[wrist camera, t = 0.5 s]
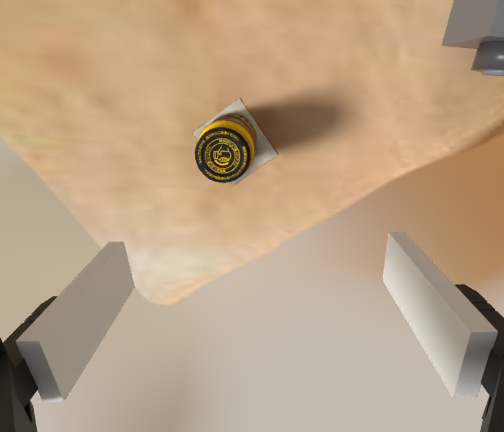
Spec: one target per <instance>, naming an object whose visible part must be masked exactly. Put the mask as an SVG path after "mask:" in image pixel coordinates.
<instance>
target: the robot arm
mask: <svg viewBox="0 0 504 432" xmlns="http://www.w3.org/2000/svg"><path fill="white" fill-rule="evenodd" d="M383 281H384V283H385V285H386V286H387V288H388V290H389V291H390V293H391V295H392V296H393V298H394V300H395V302H396V303H397V305H398V307H399V308H400V310H401V311H402V313H403V315H404V317H405V318H406V320H407V321H408V323H409V325H410V327H411V328H412V330H413V332H414V333H415V335H416V337H417V338H418V340H419V342H420V343H421V345H422V347H423V348H424V350H425V351H426V353H427V355H428V357H429V358H430V360H431V362H432V363H433V365H434V367H435V368H436V370H437V372H438V373H439V375H440V377H441V378H442V380H443V382H444V384H445V385H446V387H447V388H448V390H449V392H450V394H451V395H452V397H453V398H454V397H455V398H459V397H477V396H478V393H479V390H480V387H481V384H482V385H483V387H484V388H485V389H486V391H487V392H488V393H489V395H490V396H489V399H488V402H487V405H486V407H485V410H484V414H483V417H482V419H483V422H482V426H481V431H480V432H504V318H503V317H502V316H501V315H500V314H499V313H498V312H497V311H495V309H494V308H493V307H492V306H491V305H490V304H489V303H487V301H486V300H485V299H484V298H483V297H482V296H481V295H480V294H479V293H478V292H477V291H475V290H473V289H471V288H469V287H468V286H466V285H464V284H463V285H462V284H461V285H454V284H453V283H452V282H451V281H450V280H449V279H448V277H447V276H446V275H445V274H444V273H443V272H442V271H441V270H440V269H439V268H438V267H437V266H436V265H435V264H434V262H433V261H432V260H431V259H430V258H429V257H428V256H427V255H426V254H425V253H424V252H423V251H422V250H421V249H420V248H419V246H418V245H417V244H416V243H415V242H414V241H413V240H412V239H411V238H410V237H409V236H408V235H407V233H406V232H389V234H388V242H387V249H386V257H385V265H384V273H383ZM133 289H134V282H133V278H132V274H131V270H130V266H129V262H128V257H127V253H126V249H125V245H124V242H109V243H108V244H107V245H106V246H105V247H104V248H103V249H102V250H101V251H100V252H99V253H98V254H97V255H96V256H95V257H94V259H93V260H92V261H91V262H90V263H89V264H88V265H87V266H86V267H85V268H84V269H83V270H82V271H81V272H80V273H79V274H78V276H77V277H76V278H75V279H74V280H73V281H72V282H71V283H70V284H69V285H68V286H67V287H66V288H65V289H64V290H63V292H61V294H60V295H59V296H53V297H52V298H50V299H48V300H47V301H45V302H44V303H42V304H41V305H40V306H39V307H38V308H37V309H36V310H35V311H34V312H33V313H32V315H30V316H29V317H28V318H27V319H26V320H25V321H24V323H22V324H21V325H20V326H19V327H18V328H17V329H16V330H15V331H14V332H13V333H12V334H11V335H10V336H9V337H8V338H7V339H6V340H5V341H4V342H2V340H1V338H0V432H37V427H36V422H35V415H34V409H33V405H32V403H31V401H30V399H31V398H32V397H33V395H34V394H35V392H36V391H37V390H38V392H39V394H40V396H41V399H42V401H43V402H55V401H56V402H59V401H61V402H63V401H65V399H66V398H67V396H68V394H69V393H70V391H71V389H72V388H73V386H74V385H75V383H76V381H77V380H78V378H79V377H80V375H81V373H82V372H83V370H84V368H85V367H86V365H87V364H88V362H89V360H90V359H91V357H92V355H93V354H94V352H95V350H96V349H97V347H98V346H99V344H100V342H101V341H102V339H103V338H104V336H105V334H106V333H107V331H108V329H109V328H110V326H111V325H112V323H113V321H114V320H115V318H116V316H117V315H118V313H119V312H120V310H121V308H122V307H123V305H124V303H125V302H126V300H127V299H128V297H129V295H130V294H131V292H132V290H133Z"/></svg>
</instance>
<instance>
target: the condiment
mask: <svg viewBox="0 0 504 432" xmlns="http://www.w3.org/2000/svg"><path fill="white" fill-rule="evenodd" d="M193 134H194V135H195V136H196V138H197V139H198V140H197V145H196V148H195V159H196V163H197V165H198V168H199V169H200V171H201V172H202V173H203V174H204V175H205V176H206V177H207V178H208V179H210V180H212V181H215V182H220V183H221V182H223V183H226V182H230V183H231V185H232V186H233V185H234V184H236V183H237V182H239V181H240V180H242V179H243V178H244V177H246V176H247V175H249V174H250V173H252V172H253V171H255V170H256V169H257V168H258V167H260V166H262V165H263V164H265V163H266V162H268V161H269V160H271V159H272V158H274V157H275V156H277V155H278V154H277V153H276V151H275V150H274V148H273V147H272V145H271V144H270V143H269V141H268V140H267V138H266V137H265V135H264V134H263V132H262V131H261V129H260V128H259V126H258V125H257V123H256V122H255V120H254V119H253V117H252V116H251V114H250V113H249V111H248V110H247V108H246V107H245V105H244V104H243V102H242V101H241V99H240V98H238V99H237V100H236V101H234V102H233V103H232V104H230V105H229V106H228V107H226V108H225V109H224V110H222V111H221V112H220V113H219V114H217V115H216V116H215V117H213V118H212V119H211V120H209V121H208V122H207V123H205V124H204V125H203V126H201V127H200V128H199V129H197V130H196V131H195V132H193ZM255 150H256V153H255Z"/></svg>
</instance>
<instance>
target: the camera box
mask: <svg viewBox="0 0 504 432" xmlns="http://www.w3.org/2000/svg"><path fill="white" fill-rule="evenodd" d="M442 46H452V47H463V48H474V49H478V50H477V53H476V56H475V59H474V63H473V66H472V69H471V70H474V71H481V72H482V73H481V74H484V75H494V76H504V0H454V3H453V7H452V10H451V14H450V18H449V21H448V25H447V28H446V32H445V36H444V39H443V43H442Z"/></svg>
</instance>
